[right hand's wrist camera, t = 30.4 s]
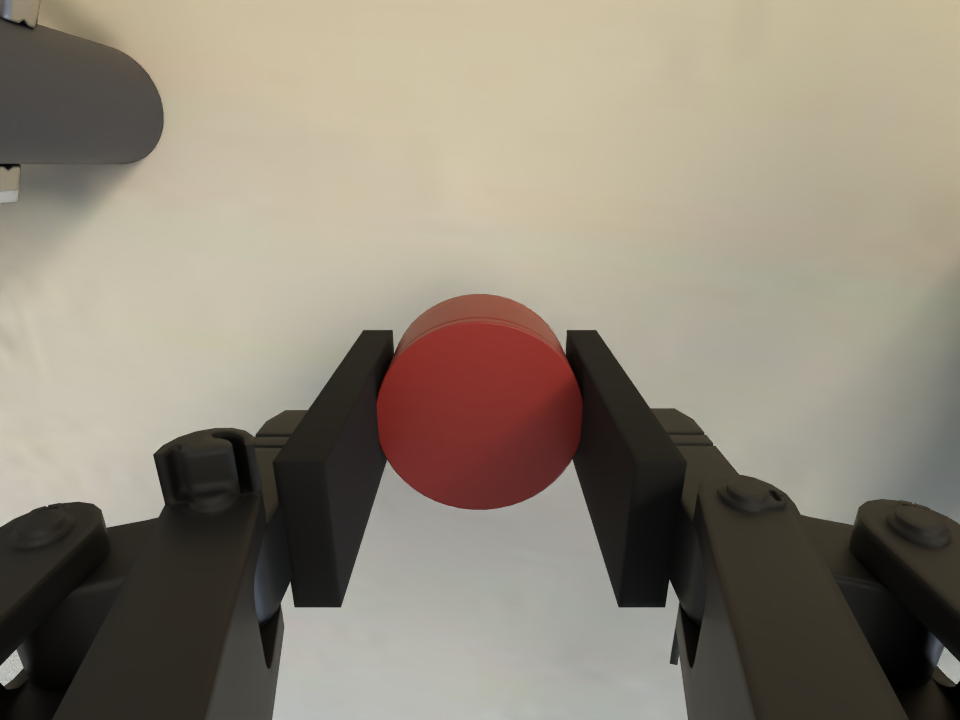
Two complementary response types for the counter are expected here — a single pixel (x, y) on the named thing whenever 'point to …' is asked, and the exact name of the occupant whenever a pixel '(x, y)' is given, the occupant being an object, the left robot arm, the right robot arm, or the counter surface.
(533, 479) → the cap
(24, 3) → the left robot arm
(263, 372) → the counter surface
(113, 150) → the bottle
